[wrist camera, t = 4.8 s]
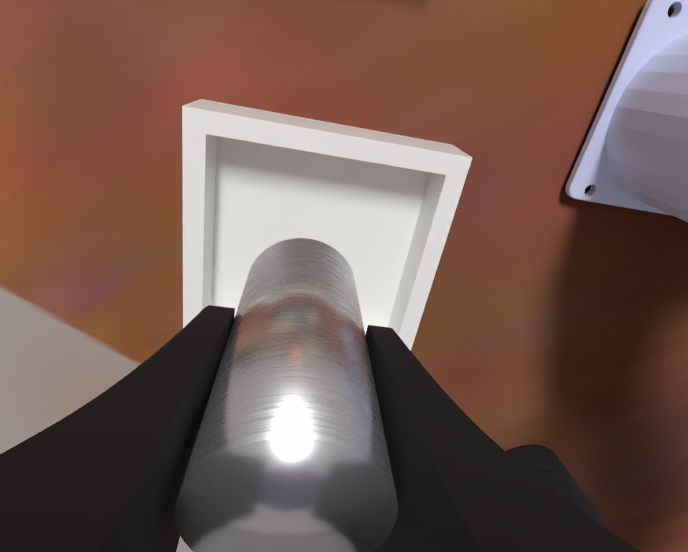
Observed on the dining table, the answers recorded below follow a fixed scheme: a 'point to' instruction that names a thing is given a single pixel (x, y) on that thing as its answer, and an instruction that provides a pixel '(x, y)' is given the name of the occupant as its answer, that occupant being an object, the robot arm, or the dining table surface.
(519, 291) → the dining table surface
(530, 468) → the drinking cup
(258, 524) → the lock pin
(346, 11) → the dining table surface
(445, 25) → the dining table surface
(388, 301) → the tray
